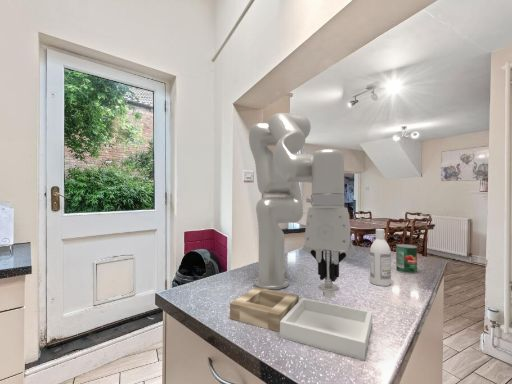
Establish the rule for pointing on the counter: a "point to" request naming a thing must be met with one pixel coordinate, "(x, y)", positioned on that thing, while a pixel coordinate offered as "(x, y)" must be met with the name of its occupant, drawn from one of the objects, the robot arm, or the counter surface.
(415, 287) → the counter surface
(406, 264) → the canned tomato
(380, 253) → the bath foam
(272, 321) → the holder
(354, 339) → the tray
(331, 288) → the screw
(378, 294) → the counter surface
